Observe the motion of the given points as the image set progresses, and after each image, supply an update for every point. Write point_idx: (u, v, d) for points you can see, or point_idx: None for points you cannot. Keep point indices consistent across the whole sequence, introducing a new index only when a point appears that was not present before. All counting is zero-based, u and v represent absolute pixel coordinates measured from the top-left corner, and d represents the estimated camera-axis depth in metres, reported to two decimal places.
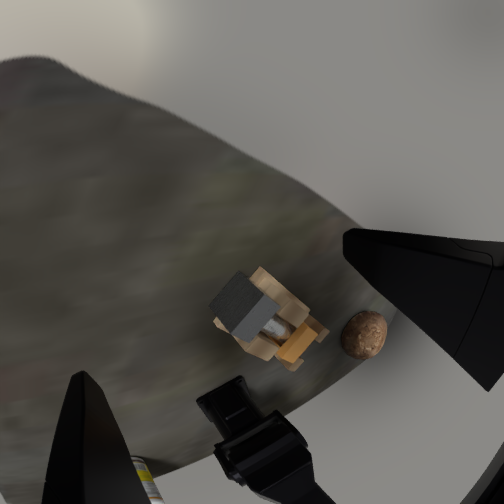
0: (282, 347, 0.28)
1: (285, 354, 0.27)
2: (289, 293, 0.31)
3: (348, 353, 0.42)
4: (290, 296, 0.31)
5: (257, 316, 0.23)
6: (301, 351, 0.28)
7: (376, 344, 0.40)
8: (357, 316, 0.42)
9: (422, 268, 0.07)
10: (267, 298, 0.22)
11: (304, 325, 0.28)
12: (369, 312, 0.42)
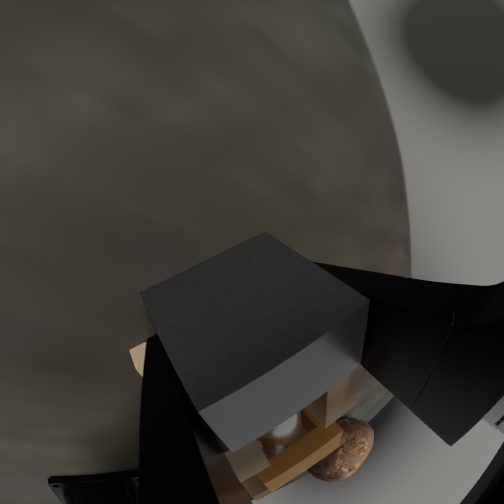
0: (271, 461, 0.10)
1: (275, 479, 0.09)
2: None
3: (311, 470, 0.23)
4: None
5: (308, 375, 0.06)
6: (299, 472, 0.10)
7: (356, 465, 0.22)
8: (342, 422, 0.25)
9: (369, 315, 0.06)
10: (364, 320, 0.06)
11: (333, 425, 0.11)
12: (358, 420, 0.25)
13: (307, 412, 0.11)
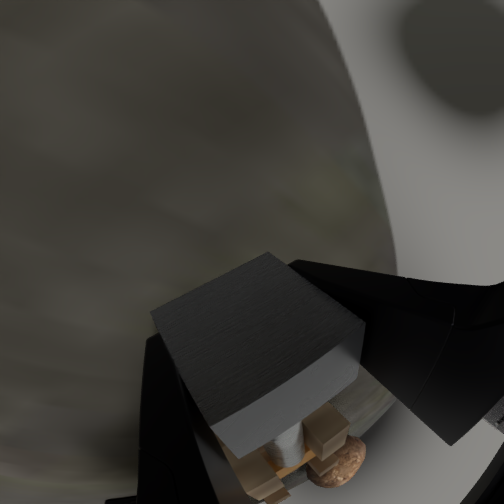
0: (269, 464, 0.14)
1: None
2: None
3: (312, 478, 0.26)
4: None
5: (308, 390, 0.06)
6: (289, 471, 0.15)
7: (350, 474, 0.26)
8: None
9: (368, 315, 0.06)
10: (360, 340, 0.06)
11: None
12: (352, 437, 0.28)
13: None
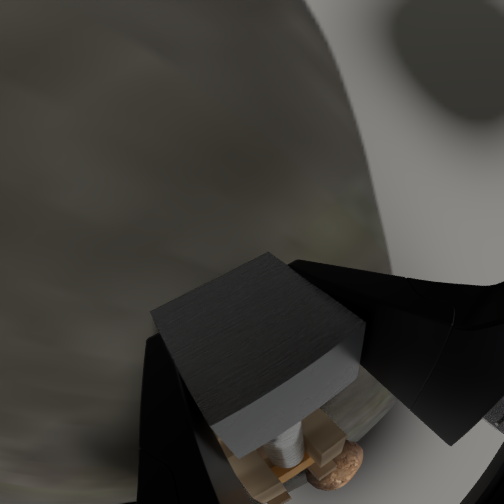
0: (272, 470, 0.15)
1: None
2: None
3: (311, 481, 0.27)
4: None
5: (309, 389, 0.06)
6: (290, 476, 0.16)
7: (348, 478, 0.27)
8: None
9: (369, 315, 0.06)
10: (361, 340, 0.06)
11: None
12: (350, 442, 0.29)
13: None
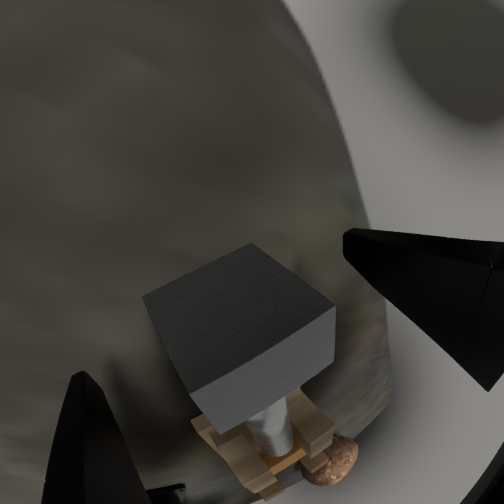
0: (264, 460, 0.16)
1: None
2: None
3: (306, 477, 0.28)
4: None
5: (283, 367, 0.07)
6: (282, 468, 0.16)
7: (343, 473, 0.27)
8: None
9: (422, 268, 0.07)
10: (332, 322, 0.07)
11: None
12: (345, 438, 0.30)
13: None
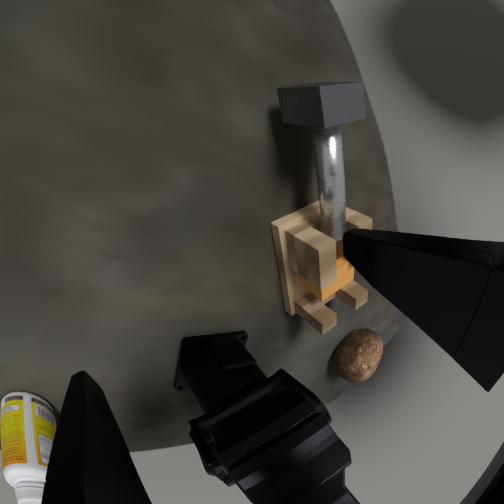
0: None
1: None
2: None
3: (340, 368, 0.37)
4: None
5: (347, 99, 0.15)
6: (335, 288, 0.25)
7: (372, 364, 0.36)
8: (359, 330, 0.38)
9: (422, 268, 0.07)
10: (362, 90, 0.16)
11: None
12: (370, 330, 0.39)
13: None
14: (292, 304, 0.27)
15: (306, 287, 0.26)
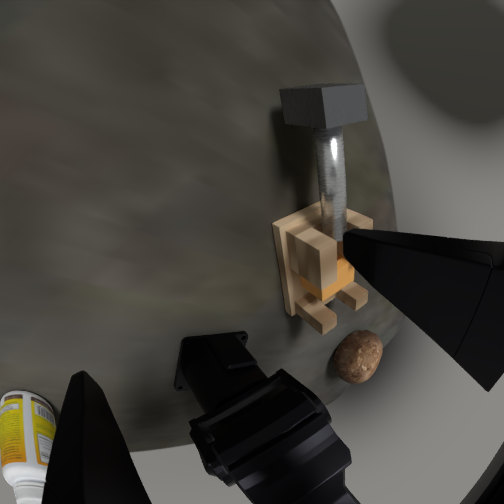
0: None
1: None
2: None
3: (340, 369, 0.37)
4: None
5: (349, 101, 0.16)
6: (335, 288, 0.25)
7: (372, 365, 0.36)
8: (359, 331, 0.38)
9: (422, 268, 0.07)
10: (364, 92, 0.16)
11: None
12: None
13: None
14: (292, 305, 0.27)
15: (306, 288, 0.26)
